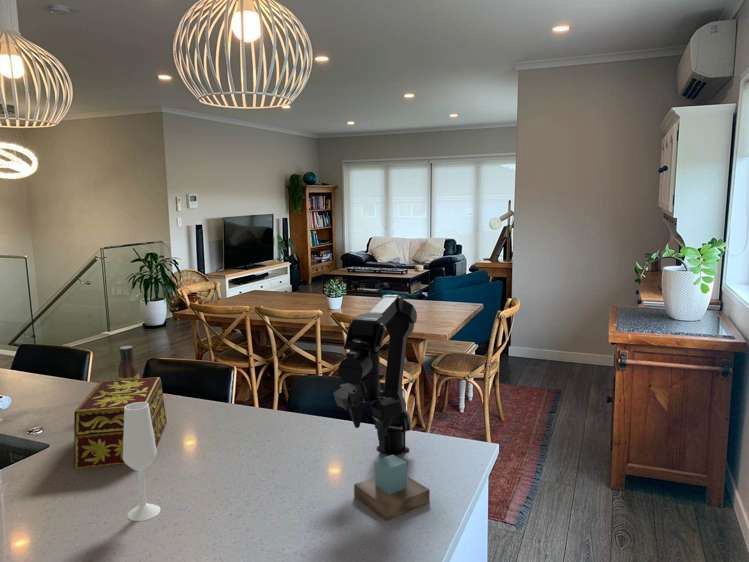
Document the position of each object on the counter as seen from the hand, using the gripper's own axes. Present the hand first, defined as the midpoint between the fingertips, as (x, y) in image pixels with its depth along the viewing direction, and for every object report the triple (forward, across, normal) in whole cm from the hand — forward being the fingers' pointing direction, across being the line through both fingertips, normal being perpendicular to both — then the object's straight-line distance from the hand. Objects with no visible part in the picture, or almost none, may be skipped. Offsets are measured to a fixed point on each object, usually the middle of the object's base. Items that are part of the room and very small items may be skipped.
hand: (368, 433), depth 133 cm
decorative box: (+12, -60, -40) cm, 73 cm away
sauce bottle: (+12, -91, -31) cm, 96 cm away
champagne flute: (+11, -19, -47) cm, 52 cm away
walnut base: (+12, +10, -2) cm, 16 cm away
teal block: (+9, +10, -2) cm, 13 cm away
